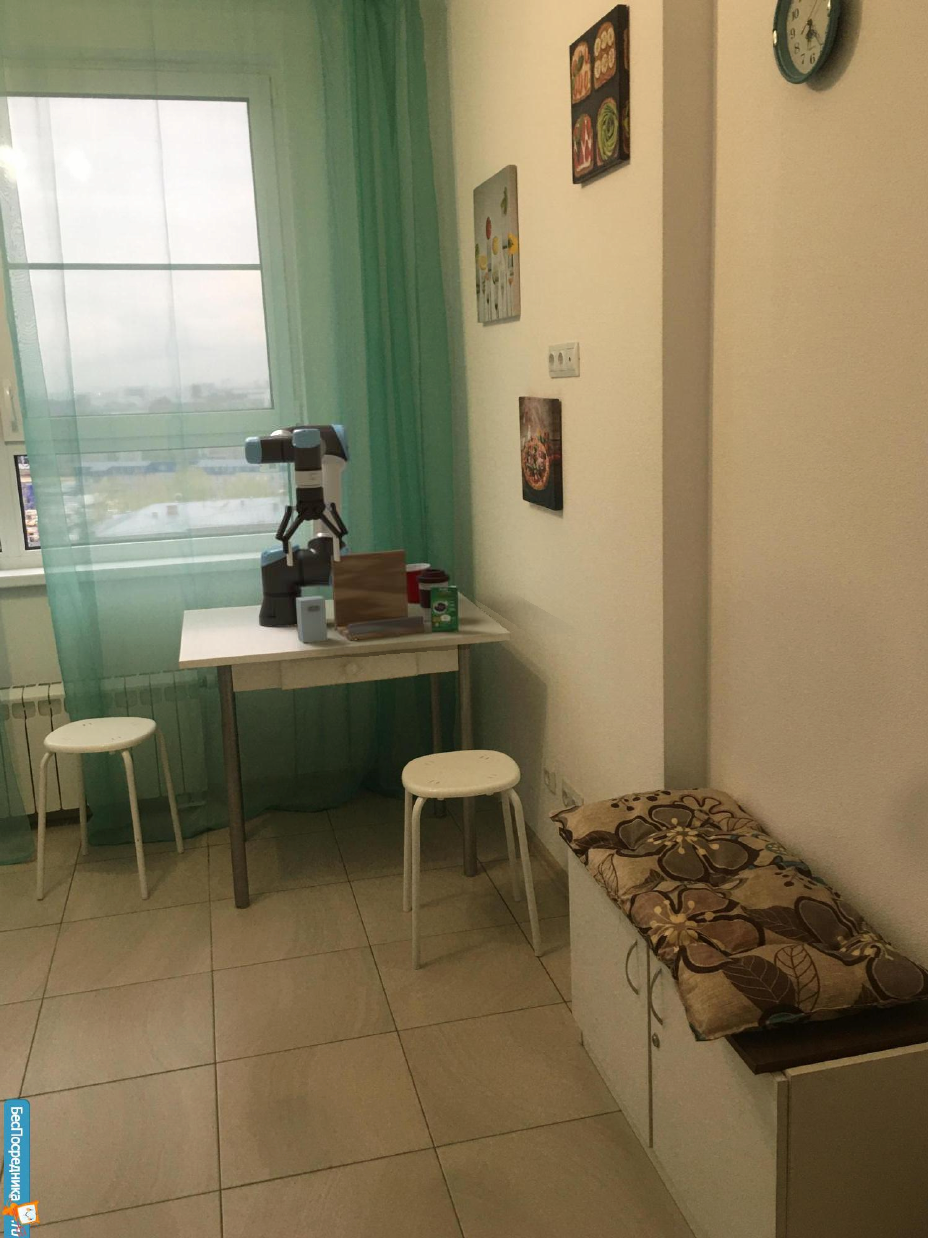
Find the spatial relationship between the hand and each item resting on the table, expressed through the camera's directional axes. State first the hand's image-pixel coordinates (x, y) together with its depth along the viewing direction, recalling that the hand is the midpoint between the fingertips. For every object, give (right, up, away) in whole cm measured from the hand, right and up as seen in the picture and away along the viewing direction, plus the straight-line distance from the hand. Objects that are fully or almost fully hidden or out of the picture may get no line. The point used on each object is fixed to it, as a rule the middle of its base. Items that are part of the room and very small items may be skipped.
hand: (313, 563), depth 303 cm
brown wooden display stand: (+17, -19, +13) cm, 29 cm away
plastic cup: (+26, -10, +56) cm, 62 cm away
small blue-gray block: (-1, -21, +4) cm, 22 cm away
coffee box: (+36, -19, +11) cm, 42 cm away
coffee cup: (+33, -16, +27) cm, 45 cm away
